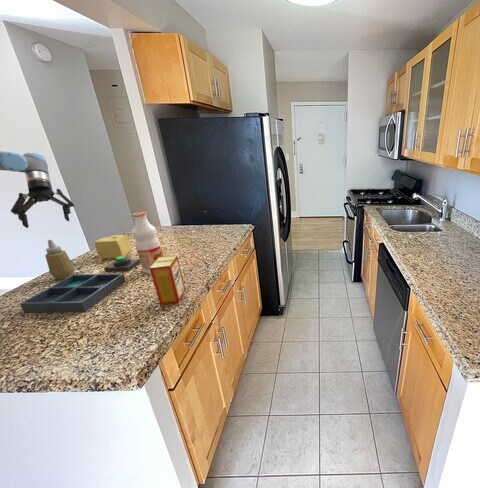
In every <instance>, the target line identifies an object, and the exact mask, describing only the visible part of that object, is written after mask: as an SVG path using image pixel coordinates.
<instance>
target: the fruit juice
mask: <svg viewBox="0 0 480 488" xmlns="http://www.w3.org/2000/svg"><path fill="white" fill-rule="evenodd" d="M147 215H148V214H147V212H146V211H138V212H134V213H132V217H133V218H134V227H133V229H132V233H131V234H132V237H133V238H134V239H135V243H134V244H135V245H134V246H135V249H136V253H137V255H138V259H140V262H141V263H140V265H141V269H142V271H143V273H144V274H147V275H151V271H150V267H151V266H152V265H153V264H154V263H155V261H156V260H157V259H158V258H159V257H165V256H164V253H163V249H162V245H161V241H160V240H159V239H160V238H159V237H158V235H157V233H158V231H157V227H155V226H154V225H153V224H151V222H150V221H149V220H148V218H147Z"/></svg>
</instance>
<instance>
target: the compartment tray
mask: <svg viewBox="0 0 480 488" xmlns="http://www.w3.org/2000/svg"><path fill="white" fill-rule="evenodd" d="M126 282H127V280H126V278H125V274H124V273H79V274H77V273H76V274H75V273H74V274H73V275H71V276H69V277H67V278H65V279H61V280H60V281H58V282H56V283H54V284H53V285H51V286H49V287H47V288H46V289H44V290H42V291H40V292H38V293H36V294H35V295H33V296H31V297H29V298H27V299H26V300H24V301H22V302H20V303H19V305H20V307H21V310H22V311H23V313H24V314H35V313H36V314H37V313H38V314H40V313H43V314H44V313H85V312H87V311H88V310H90V309H91V308H93V307H94V306H96V304H98V303H99V302H101V301H102V300H103V299H105V298H106V297H108V295H109V296H110V294H111V293H113V292H114V291H116V290H117V289H118V288H120V287H121V286H122V285H123V284H125V283H126Z"/></svg>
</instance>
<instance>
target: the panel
mask: <svg viewBox="0 0 480 488" xmlns="http://www.w3.org/2000/svg"><path fill="white" fill-rule="evenodd" d="M125 258H126V260H124V261H121V262H117V260H116V258H114V260H113V261H112V262H111V263H109V264H107V265H105V266H104V267H103V270H104V272H105V273H107V272H108V273H109V272H110V273H112V272H117V273H119V272H130V271H132V270H133V269H134V268H136V267H137V266H139V265H141V262H140V259H139V258H130V257H128V256H125Z"/></svg>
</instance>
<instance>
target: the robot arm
mask: <svg viewBox="0 0 480 488" xmlns="http://www.w3.org/2000/svg"><path fill="white" fill-rule="evenodd" d="M0 171H8V172H18V173H24V174H25V179H26V184H27V189H28V193H23V192H19V193H18V198H17V199H16V200H15V203H14V204H13V206H12V207H11V209H10V213H12V214H13V215H14V216H15V215H17V218H18V220H19V221H20V222H21V223H22V224H21V225H22V226H23V227H24V228H26V229H28V228H29V226H30V225H29V221H28V215H27V214H26V213H27V212H28V211H29V210H30V209H31V208H32V207H33V206H34V205H36V204H37V203H42V202H49V201H51V202H54V203H56V204H58V205H60V206H62V212H63V216H64V219H65V220H66V221H67V222H70V221H71V220H70V217H69V215H70V214H71V213H72V211H71V208H72V207H75V206H76V205H75V204H74V203H73V201H71V199H70V198H68V197H67V196H66V195H65V194H63V191H62V190H61V189H60V188H57V189H56V190H53V186H52V183H51V177H50V173H49V165H48V163H47V159H46V158H45V156H43V155H42V154H40V153H38V152H26V153H24V154H20V153H17V152H13V151H3V150H0ZM55 195H57V196H60V198H62V199H63V200H61V199H59V198H57V197H55ZM64 201H65V202H64Z"/></svg>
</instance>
